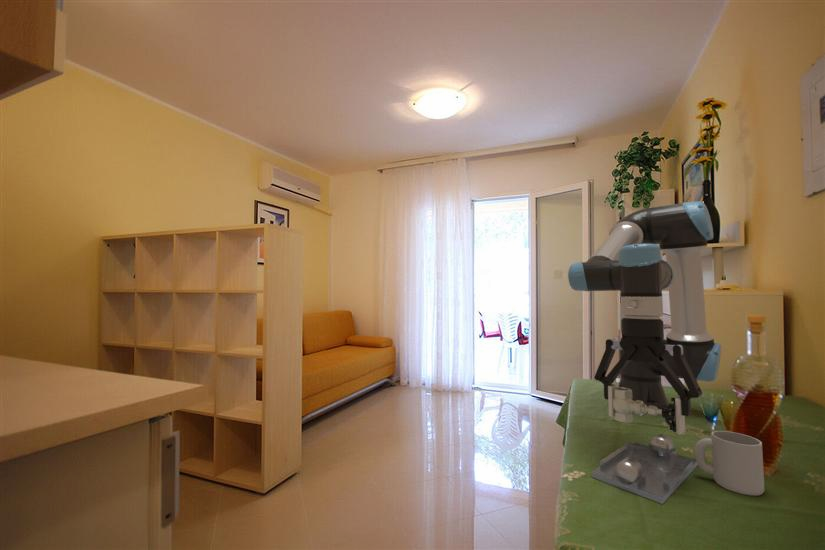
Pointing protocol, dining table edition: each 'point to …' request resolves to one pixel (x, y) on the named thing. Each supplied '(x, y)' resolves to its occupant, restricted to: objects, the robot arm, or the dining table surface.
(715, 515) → the dining table surface
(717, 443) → the cup
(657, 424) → the dining table surface
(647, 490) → the tray
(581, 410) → the dining table surface
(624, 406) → the valve
